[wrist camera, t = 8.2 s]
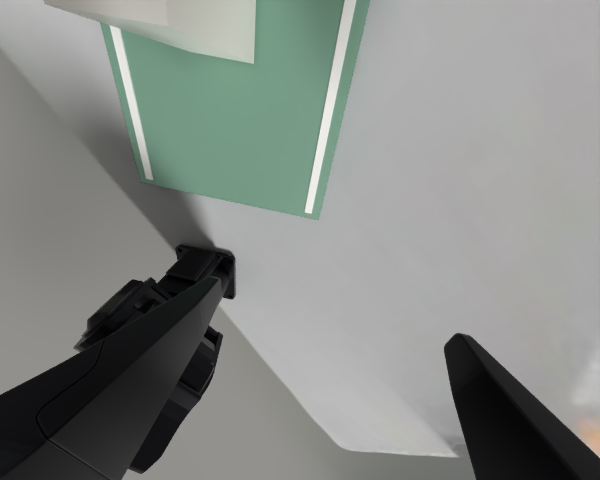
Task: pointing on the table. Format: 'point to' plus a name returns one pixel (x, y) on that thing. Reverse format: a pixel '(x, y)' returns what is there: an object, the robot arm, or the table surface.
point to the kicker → (179, 22)
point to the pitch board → (244, 106)
